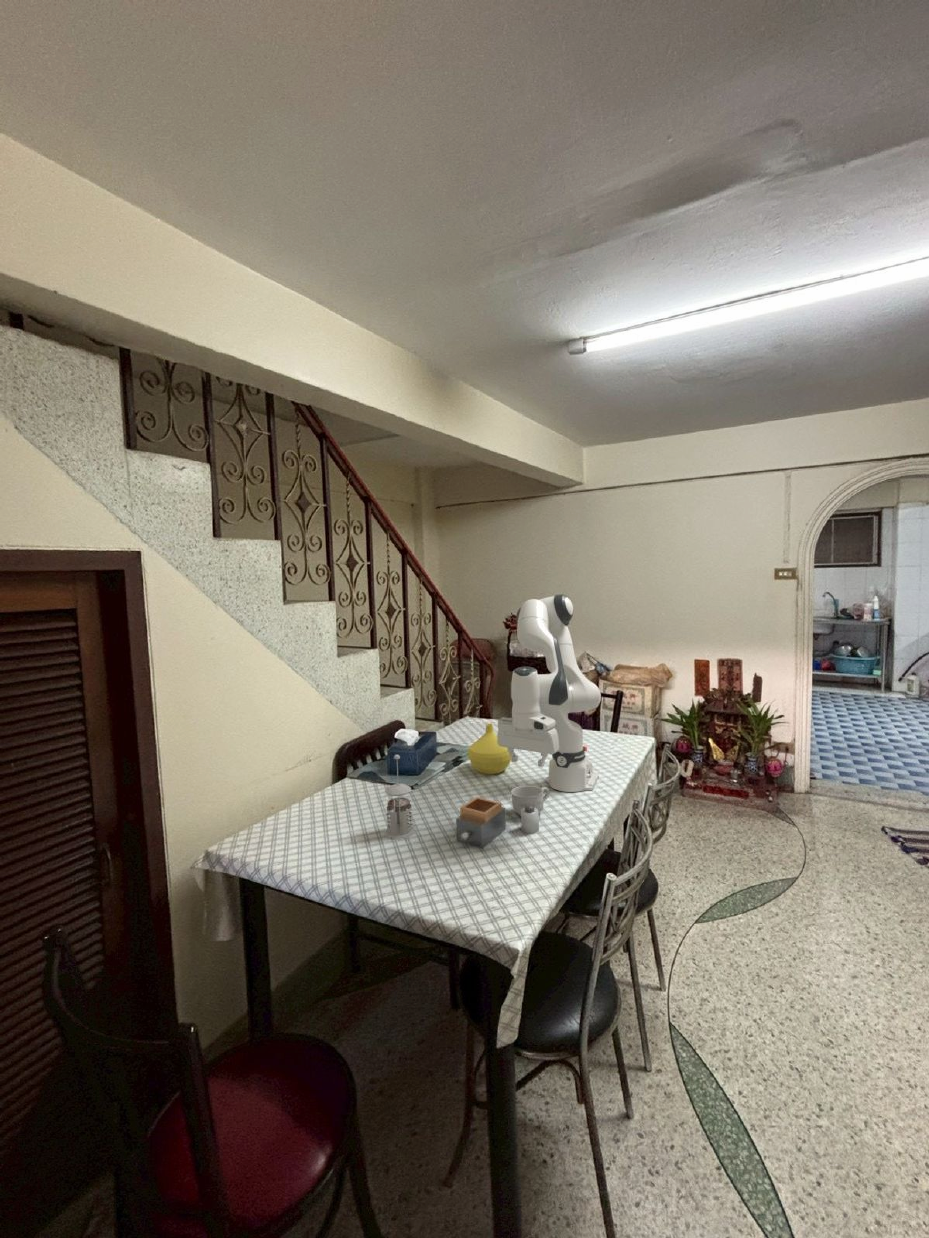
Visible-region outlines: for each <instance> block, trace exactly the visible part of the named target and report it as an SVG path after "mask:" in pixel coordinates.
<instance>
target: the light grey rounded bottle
mask: <svg viewBox="0 0 929 1238" xmlns="http://www.w3.org/2000/svg"><path fill="white" fill-rule="evenodd" d="M539 814H540V813H538V809H536V808H534V805H531V804H527V805H525V808H523V809H521V816H520V822H521V823H520V826H521V831H522V832H523V833H525V834H536V833H538V832H539V830H540V825H539V824H540V823H539V822H540V818H539V817H540V816H539Z"/></svg>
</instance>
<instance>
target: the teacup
mask: <svg viewBox="0 0 929 1238" xmlns="http://www.w3.org/2000/svg"><path fill="white" fill-rule="evenodd" d="M544 791H545V794H544ZM510 793H511V804H512V809H513V810H514V811H513V812H515V813H516V814H518V815H519V816H520V817H521V809H523V808H525V805H527V804H531V805H534V808H536V809H538V813H539V814H540V813H541V812H542V811H543V809H544V802H545V801H546V800H547V799H548V798H549V797H550V789H549V788H548V787H546V786H542V787H540V786H535V785H521V786H517V787H514V788H512V790H510Z"/></svg>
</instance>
